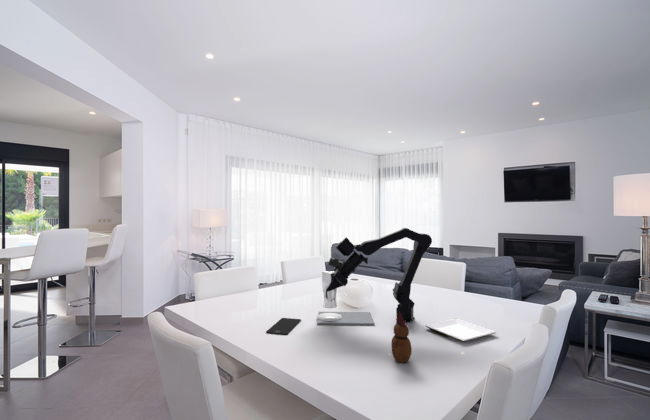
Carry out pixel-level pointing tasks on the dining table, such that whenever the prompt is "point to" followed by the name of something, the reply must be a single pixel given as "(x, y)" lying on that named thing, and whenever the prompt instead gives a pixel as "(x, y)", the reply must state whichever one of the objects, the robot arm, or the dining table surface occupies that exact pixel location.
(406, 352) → the wooden figurine
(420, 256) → the robot arm
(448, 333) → the plate
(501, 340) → the dining table surface
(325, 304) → the beer glass
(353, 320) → the base plate
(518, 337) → the dining table surface
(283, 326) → the cell phone
